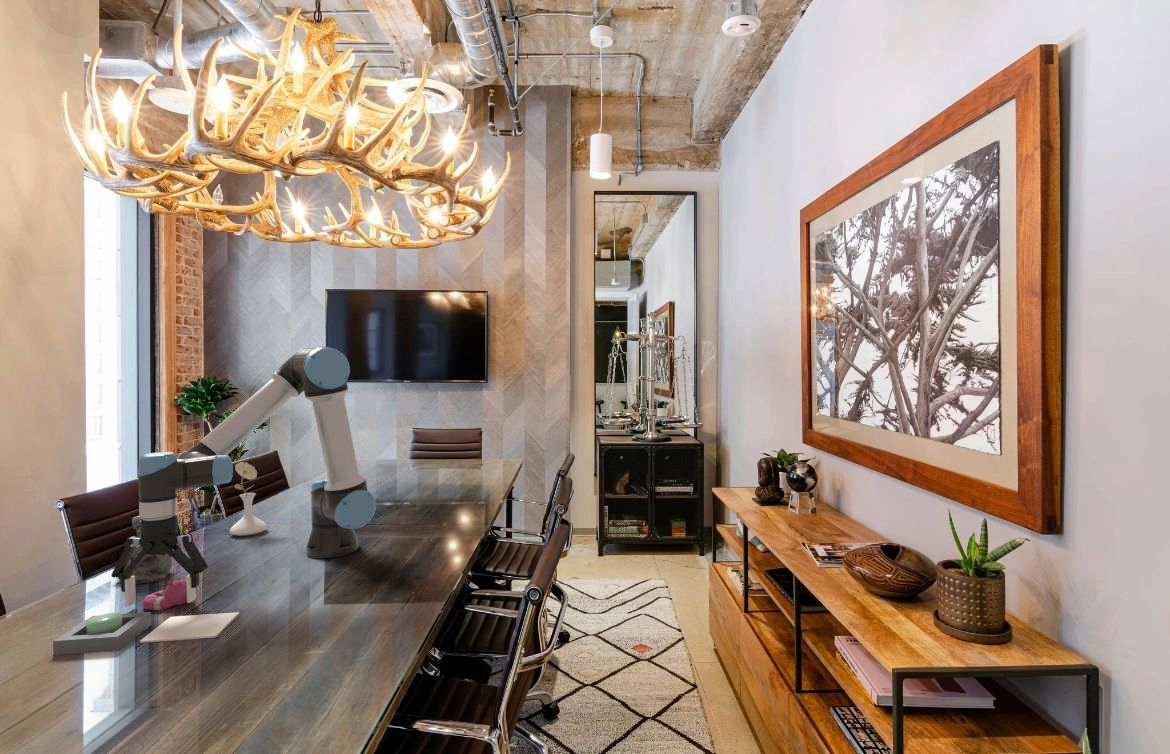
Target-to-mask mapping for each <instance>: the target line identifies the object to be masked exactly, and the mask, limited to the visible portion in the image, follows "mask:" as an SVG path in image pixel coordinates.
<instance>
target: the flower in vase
mask: <svg viewBox="0 0 1170 754" xmlns="http://www.w3.org/2000/svg"><path fill="white" fill-rule="evenodd" d="M234 468H235V471H236V472H237V474H238V475H239V476H241V482H240V484H239V483H236V484H235V485H234V489H237V490H240V491H242V490H243V492H244V493H241V494H239V497H240V498H241V500H242V501H243V505H244V506H243V509H244V511H243V513H244V514H243V516H242V517H241V518H240V519H239V520H238V521H237V522H236V523H234V524H233V525H232V527H230V529H229V533H230V535H232V536H240V537H241V536H250V535H257V534H260V533H262V532H264V531H266V530H267V528H268V525H267V523H266V522H264V521H263V520H262V519H260V518H258V517H256V516H255V515H254V514H253V510H252V509H253V502H254V498H255V497H256V495H257V493H255V492H247V491H248V490H249V489H251V488H252V487H254V486H255V484H253V485H251V486H249V487H248V488H246V489H245V488H244V485H243V481H244V479H247V480H250V481H251V480H255V479H257V478H258V477H257V476H258V472H257V469H256V467H255V466H253V465H252V464H249V463H248V462H246V461H245V462H244V461H240V462H239V463H236V464H235V466H234Z"/></svg>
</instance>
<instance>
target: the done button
mask: <svg viewBox="0 0 1170 754" xmlns="http://www.w3.org/2000/svg"><path fill="white" fill-rule="evenodd" d="M122 614H123V613H121V612H108V613H107V612H106V613H103V614H99V615H95V616H96V617H93V618H91V619H89V620H88V621H87V622H86V630H87V635H90V634H105V633H114V632H115V631H117V630H118V629H119V628H121V627H122Z"/></svg>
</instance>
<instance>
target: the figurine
mask: <svg viewBox="0 0 1170 754" xmlns="http://www.w3.org/2000/svg"><path fill="white" fill-rule="evenodd" d="M141 519H142V518H140V517H139V515H137V516H134V517H133V518H132V519H131V524H132V528H133V529H134V530H135V531H136V537H137V538H141V534H140V520H141ZM142 550H143V548H142V546H141V545H140V544H138V545H137V546H136V547H135V550H134V552H133V553H132V555H131V557H130V559H129V561H128V563H127V565H126V567H125V569H124V571H125V570H126V569H127V567H128V566H129V565H130V564H131V563H132V562H133V561H134V559H135V558H136V557H137V556H138V554H139V553H140V552H141V551H142ZM172 566H173V558H172V557H170V556H169V555H168V554H166V555H155V556H151V555H148V556H147V557H146V558H145V559H144V560H143V562H142V563H141V564H140V565H139V566H138V567H137V568H136V570H135V571H134V572H133V573H132V575H130V577H131V576H135V585H140V584H147V583H153V582H155V583H156V582H159V581H161V580H164V579H166V578H167V576H168V575H169V572H170V571H171V569H172ZM114 568H115V566H114ZM114 568H113V569H114ZM117 579H118V580H119V581H120V583H121V579H120V578H118V577H117Z"/></svg>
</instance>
